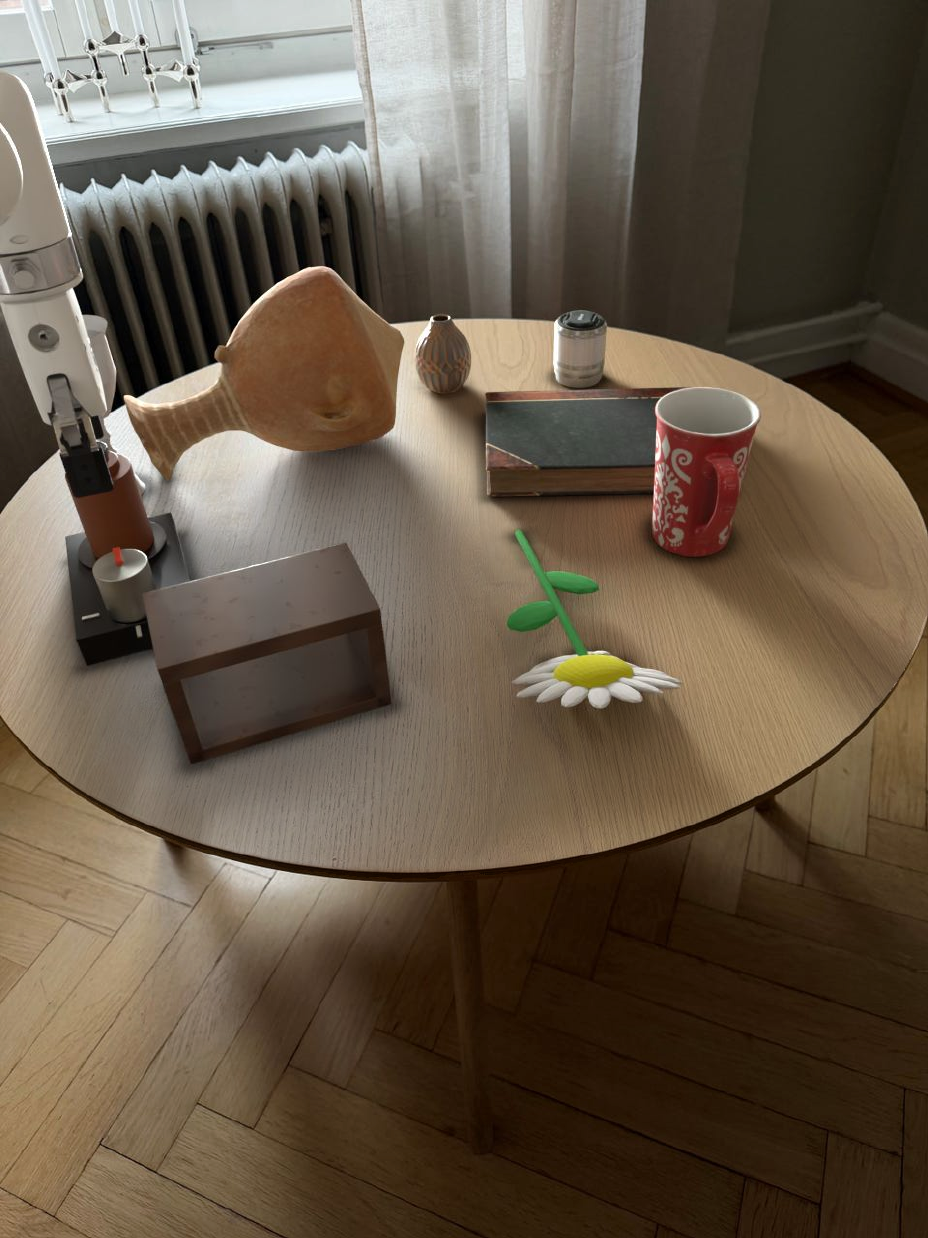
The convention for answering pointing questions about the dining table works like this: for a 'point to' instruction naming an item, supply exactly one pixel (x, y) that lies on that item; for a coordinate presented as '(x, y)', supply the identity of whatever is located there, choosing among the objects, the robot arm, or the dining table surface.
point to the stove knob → (124, 583)
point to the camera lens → (579, 348)
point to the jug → (289, 376)
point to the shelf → (268, 650)
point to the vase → (442, 356)
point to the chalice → (104, 373)
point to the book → (572, 441)
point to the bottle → (115, 511)
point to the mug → (700, 467)
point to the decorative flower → (577, 651)
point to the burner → (153, 551)
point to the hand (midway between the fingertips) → (90, 465)
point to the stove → (91, 618)
